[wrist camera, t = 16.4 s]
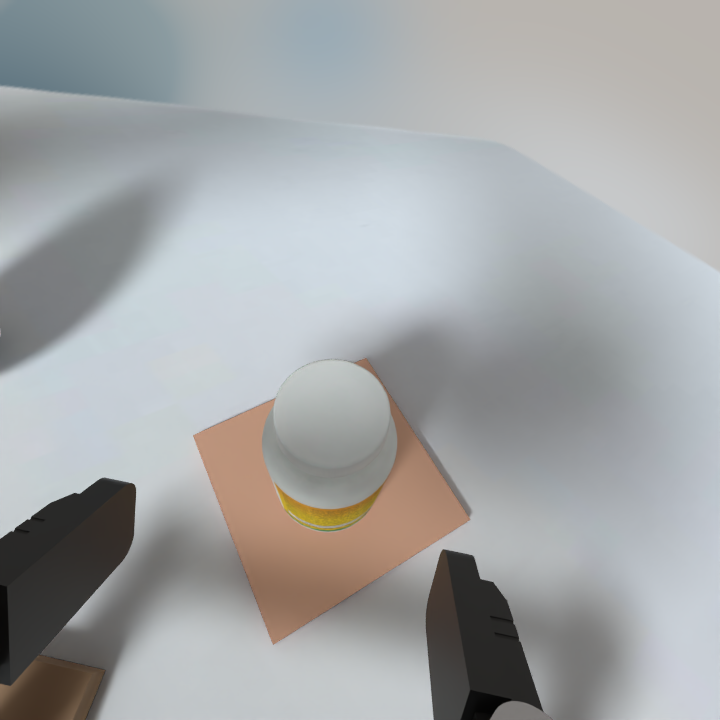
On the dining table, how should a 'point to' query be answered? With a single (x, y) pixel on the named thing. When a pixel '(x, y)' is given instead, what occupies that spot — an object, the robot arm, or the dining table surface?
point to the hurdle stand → (50, 691)
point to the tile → (313, 548)
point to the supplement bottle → (329, 444)
